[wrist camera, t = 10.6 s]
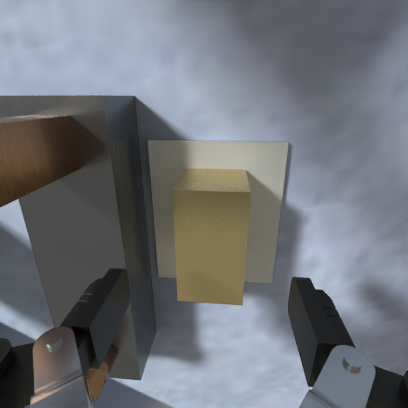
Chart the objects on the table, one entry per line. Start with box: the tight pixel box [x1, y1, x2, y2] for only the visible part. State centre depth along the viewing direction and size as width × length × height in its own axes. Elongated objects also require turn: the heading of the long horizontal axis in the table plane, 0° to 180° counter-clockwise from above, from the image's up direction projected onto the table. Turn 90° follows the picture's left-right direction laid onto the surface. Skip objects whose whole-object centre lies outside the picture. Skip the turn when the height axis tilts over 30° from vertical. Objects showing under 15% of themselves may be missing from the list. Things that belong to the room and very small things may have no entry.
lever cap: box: [173, 168, 251, 305], centre depth 19 cm, size 8×4×5 cm, turn 0°
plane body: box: [0, 96, 156, 402], centre depth 18 cm, size 22×6×11 cm, turn 0°
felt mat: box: [148, 140, 289, 284], centre depth 21 cm, size 12×10×1 cm
